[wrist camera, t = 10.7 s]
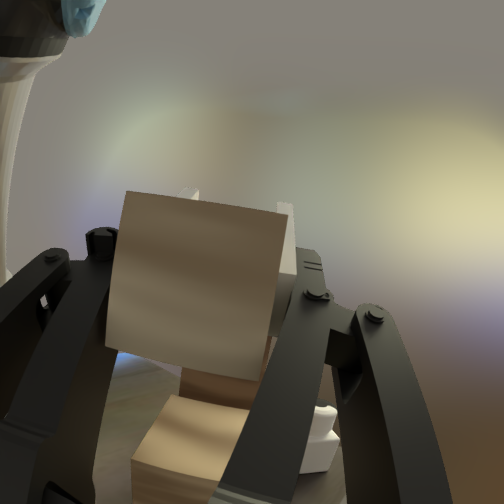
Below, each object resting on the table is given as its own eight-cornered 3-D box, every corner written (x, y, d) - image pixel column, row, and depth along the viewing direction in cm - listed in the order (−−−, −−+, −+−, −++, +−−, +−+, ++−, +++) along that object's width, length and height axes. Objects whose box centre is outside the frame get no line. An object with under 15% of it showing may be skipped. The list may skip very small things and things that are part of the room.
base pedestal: (220, 585, 15) (252, 485, 15) (140, 568, 15) (130, 458, 15) (228, 521, 26) (254, 411, 26) (163, 508, 26) (171, 394, 26)
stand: (239, 481, 35) (282, 281, 35) (172, 467, 35) (196, 266, 35) (244, 423, 53) (273, 273, 53) (194, 414, 53) (217, 263, 53)
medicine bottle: (275, 450, 44) (291, 393, 45) (313, 449, 46) (330, 394, 46) (287, 475, 37) (306, 415, 38) (328, 471, 39) (350, 413, 39)
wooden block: (258, 381, 7) (288, 215, 7) (105, 345, 7) (126, 190, 7) (257, 286, 33) (264, 249, 33) (220, 280, 33) (227, 243, 33)
